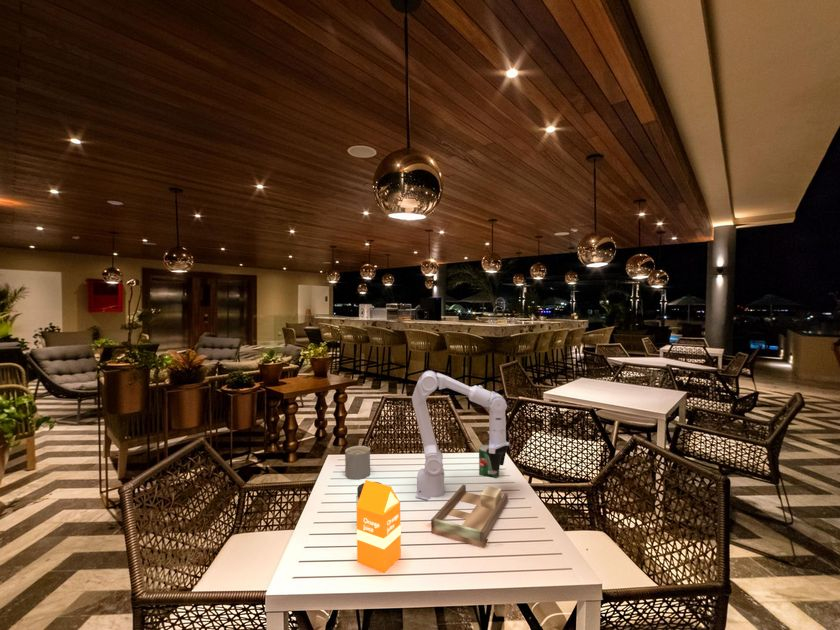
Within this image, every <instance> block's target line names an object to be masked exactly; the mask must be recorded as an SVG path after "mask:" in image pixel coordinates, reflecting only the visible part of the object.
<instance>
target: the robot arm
mask: <svg viewBox="0 0 840 630" xmlns="http://www.w3.org/2000/svg"><path fill="white" fill-rule="evenodd" d="M437 389H438V390H443V389H450V390H452V391H455V392H457V393H460V394H462V395H465V396H467V397H468V400H469V401H470V402H472V403H475V404H477V405H480V406H482V407H485V408H489V414H488V415H489V416H488V419H489V421H488V422H489V424H488V427H489V440H488V445H489V449H487V450H486V453H487V455H488V456H489V459H490V462H491V466H492V470H494V471H499V472H500V468H501V467H500V466H504V463H505V459H506V454H507V450H508V448H509V447H510V446H509V445H510V442H509V441H507V429H506V428H507V425H506V424H507V423H506V422H507V420H506V419H507V417H506V410H507V408H508V404H507V401H506V399H505V398H504V397H503V396H502V395H501V394H499V393H498V392H495V391H493V390H492V391H490V390H487V389H485V388H484V387H483V386H482V385H480V384H479V385H473V386H469V385H467V384H465V383H463V382H460V381H458V380H456V379H454V378H452V377H450V376H448V375H446V374H442V373H440V372H435V371H433V370H426V371H424V372H423V373H422V374H421V376H420V377H419V378H418V380H417V383H416V385H415V388H414V390H413V393H412V395H411V402H412V406H413V409H414V413H415V417H416V421H417V425H418V430H419V434H420V438H421V441H422V442H421V443H422V445H423V452H424V458H425V462H424V468H420V469H418V471H417V475H416V495H415V498H417V499H420V500H425V501H429V500H430V499H431V498H439V497H442V496H444V495H445V468H444V464H443V457H444V456H443V453H442V451H441V450H440V449H439V446H438V443H437V440H436V437H435V433H434V429H433V425H432V421H431V417H430V412H429V409H428V405H427V399H428V397H429V396H430V395H431V394H432V393H433V392H435V391H436V390H437Z"/></svg>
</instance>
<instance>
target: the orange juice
mask: <svg viewBox="0 0 840 630" xmlns="http://www.w3.org/2000/svg"><path fill="white" fill-rule="evenodd" d="M375 482H376V481H372V480H368V479H365V481H364V482H363V483H364V486H363V489H362V492H361V495H360V498H359V501H358V504H357V508H356V554H357V555H356V559H357V560H356V561H357V563H358V564H360V565H363V566H366V567H368V568H370V569H373V570H375V571H378V572H379V573H383V574H386V572H387V571H388V570H389V569H390V568H391V567H392V566H394V564H395V563H396V562H398V560H399V559H400V558H401V557H402V553H401V550H402V549H401V548H402V543H401V542H402V541H401V540H402V539H401V537H402V536H401V535H402V530H401V501H400V499H399V498H398V496H397V495H396V493H395V491H394V489H393V487H392V486H390V485H387V484H382V483H381V484H379V483H380V482H379V483H375Z"/></svg>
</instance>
